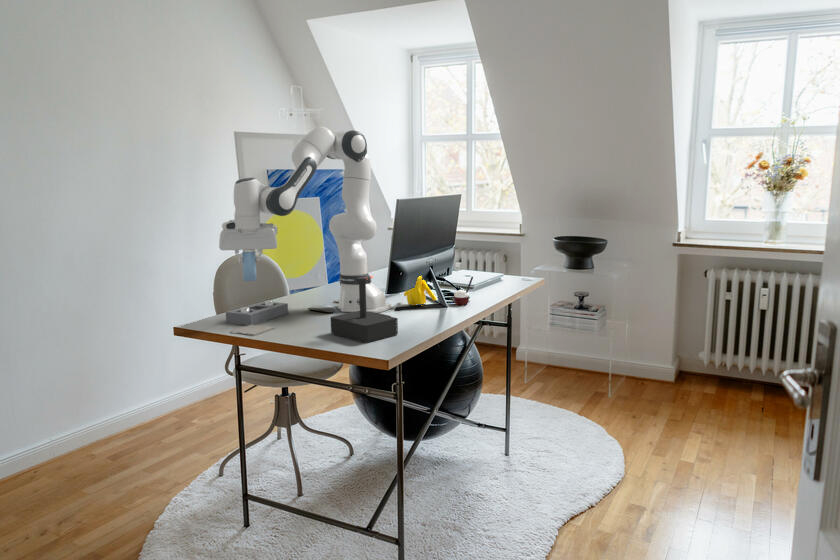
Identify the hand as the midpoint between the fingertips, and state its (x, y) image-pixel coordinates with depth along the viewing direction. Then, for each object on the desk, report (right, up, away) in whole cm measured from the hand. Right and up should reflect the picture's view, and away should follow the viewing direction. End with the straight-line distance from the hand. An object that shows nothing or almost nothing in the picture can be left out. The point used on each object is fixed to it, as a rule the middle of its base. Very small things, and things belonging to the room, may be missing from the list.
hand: (249, 262), depth 229 cm
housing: (-1, -21, +18) cm, 28 cm away
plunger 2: (+2, -19, +24) cm, 31 cm away
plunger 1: (-5, -21, +12) cm, 25 cm away
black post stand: (+43, -26, -9) cm, 51 cm away
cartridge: (0, -7, +1) cm, 7 cm away
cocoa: (+79, -17, +37) cm, 89 cm away
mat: (+2, -25, -2) cm, 25 cm away
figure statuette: (+61, -17, +37) cm, 73 cm away
